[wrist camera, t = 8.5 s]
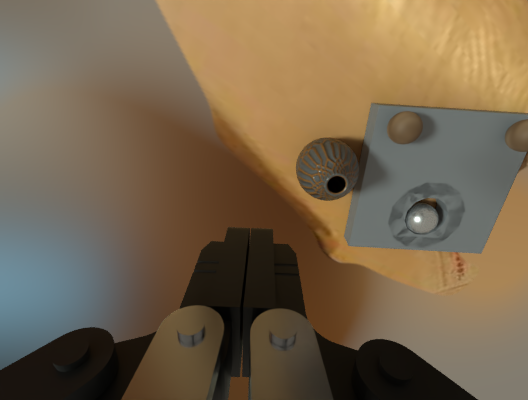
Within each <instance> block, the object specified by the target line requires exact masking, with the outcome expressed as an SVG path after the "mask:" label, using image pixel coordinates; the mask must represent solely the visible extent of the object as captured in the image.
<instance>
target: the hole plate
mask: <svg viewBox="0 0 528 400" xmlns="http://www.w3.org/2000/svg"><path fill="white" fill-rule="evenodd" d="M403 111H410V112H414V113H416V114H417V115H418V116H419V117H420V118H421V120H422V122H423V130H422V133H421V135H420V136H419V137H418V138H417V139H416V140H415V141H413V142H412V143H409V144H397V143H395V142H393V141H392V140H391V139H390V138H389V136H388V134H387V125H388V123H389V121H390V119H391V118H392V117H393V116H394V115H396V114H398V113H400V112H403ZM525 119H528V113H518V112H502V111H487V110H471V109H456V108H440V107H425V106H409V105H394V104H378V103H371V108H370V113H369V117H368V122H367V127H366V132H365V137H364V142H363V147H362V152H361V156H360V161H359V175H358V179H357V182H356V184H355V186H354V191H353V195H352V200H351V205H350V210H349V215H348V220H347V225H346V230H345V234H344V237H345V239H346V241H347V243H348V245H349V246H358V247H375V248H393V249H411V250H428V251H446V252H463V253H482V250H483V248H484V246H485V244H486V242H487V240H488V237H489V235H490V233H491V231H492V228H493V226H494V224H495V222H496V219H497V217H498V215H499V213H500V211H501V208H502V206H503V204H504V202H505V200H506V197H507V195H508V193H509V191H510V188H511V186H512V184H513V182H514V180H515V177H516V175H517V173H518V171H519V168H520V166H521V164H522V162H523V160H524V157H525V155H526V153H527V152H518V151H515V150H512V149H511V148H509V147H508V146H507V144H506V142H505V134H506V131H507V130H508V128H509V127H510V126H511V125H513V124H514V123H516V122H518V121H521V120H525ZM425 198H435V199H436V202H437V207H436V211H437V213H438V218H439V219H438V224H437V226H436V227H435V228H434V229H433V230H432V231H430V232H428V233H422V234H420V233H415V232H413V231H411V230H409V229H408V228H407V226H406V223H405V217H406V214H407V211H408V210H409V209H410V208H411V207H412V206H413V205H414V203H415V202H418V201H420V200H423V199H425Z"/></svg>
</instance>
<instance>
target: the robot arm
mask: <svg viewBox="0 0 528 400" xmlns="http://www.w3.org/2000/svg"><path fill="white" fill-rule="evenodd" d="M242 346H243V370H242V372H243V373H242V376H243V377H249V396H248V400H478V399H476V398H475V397H473V396H472V395H471V394H469V393H468V392H467V391H465V390H464V389H462V388H461V387H460V386H459V385H457V384H456V383H455V382H453V381H452V380H450V379H449V378H448V377H446V376H445V375H444V374H442V373H441V372H440V371H438V370H436V368H434V367H433V366H431V365H430V364H429V363H427V362H426V361H425V360H423V359H422V358H421V357H419V356H418V355H416V354H415V353H414V352H413V351H411V350H409V349H408V348H407V347H405V346H403V345H401V344H399V343H396V342H393V341H389V340H384V339H375V340H370V341H368V342H366V343H364V344H363V345H362V346H361V347H360V348H359V350H354V349H351V348H348V347H345V346H342V345H339V344H336V343H334V342H331V341H329V340H327V339H325V338H324V337H322V336H321V335H320V334H319V333H317V332H316V331H315V330H314V329H313V327H312V325H311V324H310V322H309V321H308V320H307V316H306V312H305V306H304V300H303V294H302V288H301V282H300V276H299V269H298V263H297V257H296V253H295V252H294V251H293V250H292V248H291V247H290V246H289V245H288V244H273V229H262V228H252V229H251V237H250V228H235V227H228V230H227V233H226V237H225V241H224V242H216V241H211V242H210V243H209V244H208V245H207V246H206V247H204V248H203V249H202V250H201V253H200V256H199V258H198V262H197V264H196V266H195V269H194V272H193V274H192V277H191V280H190V283H189V285H188V287H187V290H186V293H185V295H184V298H183V301H182V303H181V306H180V309H179V310H177V311H175V312H173V313H172V314H170V315H169V316H168V317H167V318H166V319H165V320H164V321H163V322H162V323H161V325H160V327H159V329H158V330H157V331H156V332H154V333H152V334H149V335H147V336H143V337H139V338H135V339H131V340H126V341H122V342H118V343H114V340H113V337H112V335H111V334H110V333H109V332H108V331H106V330H104V329H100V328H95V327H90V328H82V329H78V330H74V331H72V332H69V333H67V334H65V335H63V336H61V337H59V338H57V339H55V340H53V341H52V342H50V343H48V344H46V345H45V346H43V347H41V348H39V349H37V350H36V351H34V352H32V353H30V354H29V355H27V356H25V357H23V358H21V359H20V360H18V361H16V362H14V363H12V364H11V365H9V366H7V367H5V368H3V369H2V370H0V400H228V395H229V387H230V379H231V377H240V368H241V357H242Z"/></svg>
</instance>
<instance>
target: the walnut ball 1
mask: <svg viewBox="0 0 528 400" xmlns="http://www.w3.org/2000/svg"><path fill="white" fill-rule="evenodd" d="M422 130H423V122H422V120H421V118H420V117H419V116H418V115H417V114H416V113H414V112H410V111H403V112H400V113H398V114H396V115H394V116H393V117H392V118H391V119H390V121H389V123H388V125H387V134H388V136H389V138H390V139H391V140H392V141H393V142H395V143H397V144H409V143H412V142H413V141H415V140H416V139H417V138H418V137H419V136H420V135H421V133H422Z"/></svg>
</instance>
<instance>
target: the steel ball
mask: <svg viewBox="0 0 528 400" xmlns="http://www.w3.org/2000/svg"><path fill="white" fill-rule="evenodd" d="M438 219H439V218H438V213H437V211H436V210H435V209H434V208H433V207H432V206H431V205H429V204H426V203H414V205H413V206H412V207H411V208H410V209H409V210H408V211H407V214H406V217H405V223H406V226H407V228H408V229H409V230H411V231H413V232H415V233H420V234H422V233H428V232H430V231H432V230H433V229H434V228H435V227H436V226H437V224H438Z"/></svg>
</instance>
